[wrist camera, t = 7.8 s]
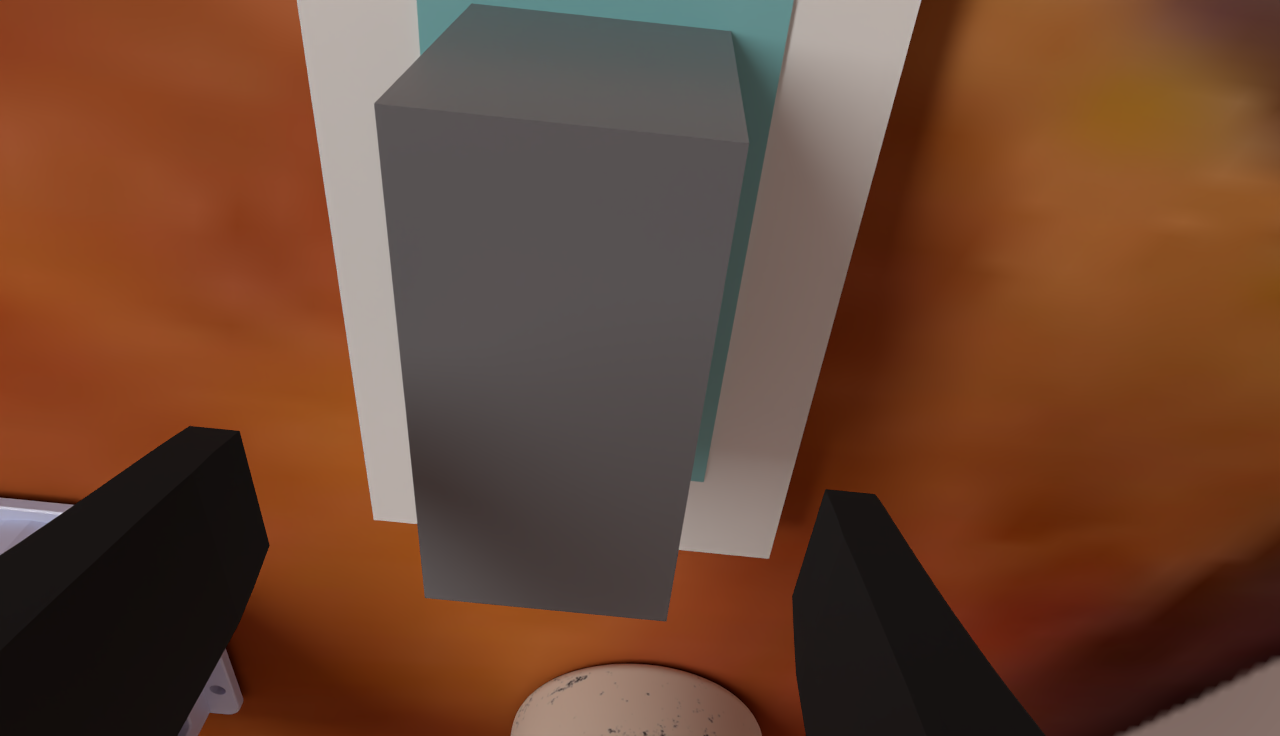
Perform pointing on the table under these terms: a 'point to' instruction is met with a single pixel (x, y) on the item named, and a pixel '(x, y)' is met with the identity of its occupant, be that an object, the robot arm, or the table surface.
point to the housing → (558, 296)
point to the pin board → (761, 247)
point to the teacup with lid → (633, 705)
